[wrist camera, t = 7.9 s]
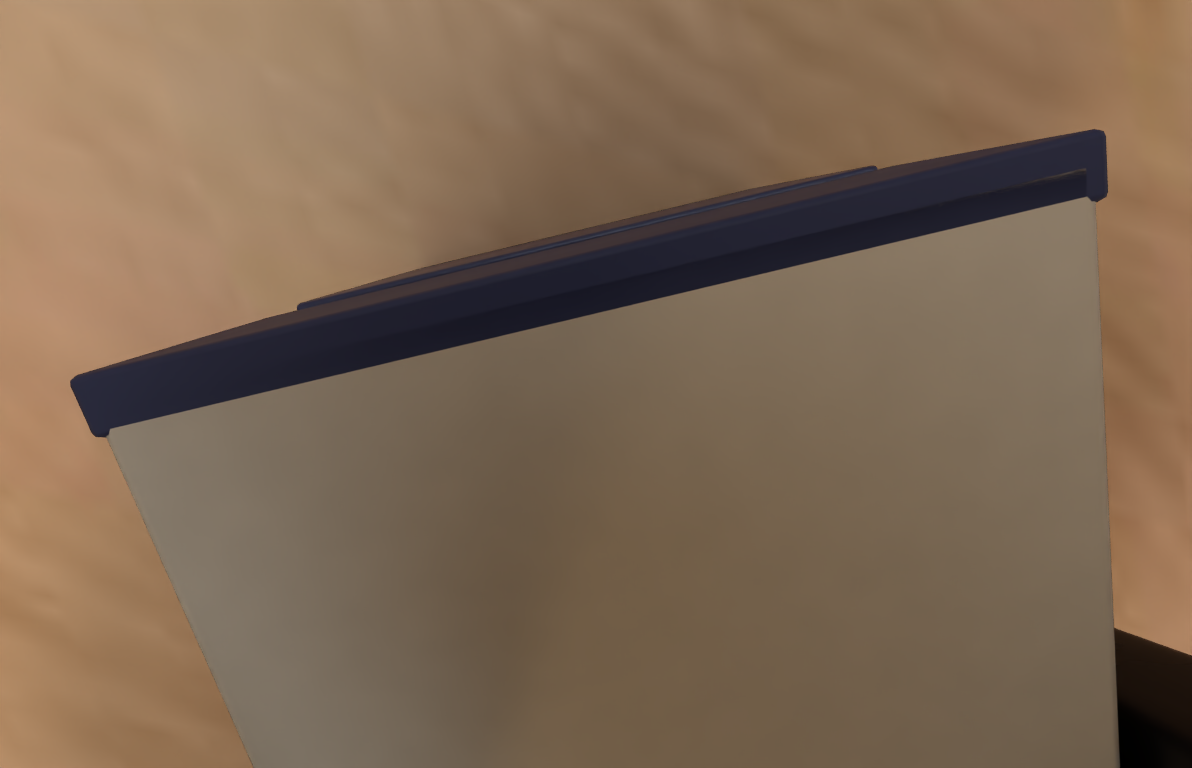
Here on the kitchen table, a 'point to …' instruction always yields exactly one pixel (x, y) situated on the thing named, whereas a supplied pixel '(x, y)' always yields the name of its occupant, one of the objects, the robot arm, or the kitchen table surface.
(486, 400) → the cream book
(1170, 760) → the robot arm
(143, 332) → the kitchen table surface
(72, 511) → the kitchen table surface
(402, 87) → the kitchen table surface
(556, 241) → the navy and tan block
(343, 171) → the kitchen table surface
